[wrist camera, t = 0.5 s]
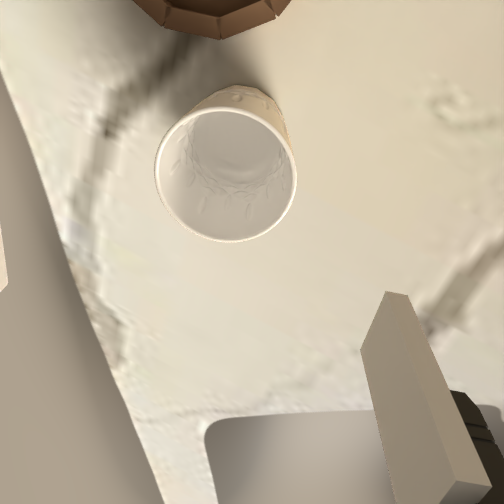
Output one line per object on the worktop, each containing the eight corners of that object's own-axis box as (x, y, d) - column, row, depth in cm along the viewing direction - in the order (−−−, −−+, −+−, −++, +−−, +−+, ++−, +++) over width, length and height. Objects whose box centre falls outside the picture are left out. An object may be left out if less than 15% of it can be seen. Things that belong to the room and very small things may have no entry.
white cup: (170, 145, 32) (130, 197, 24) (222, 52, 29) (197, 73, 20) (255, 198, 34) (246, 264, 26) (314, 117, 31) (326, 162, 22)
